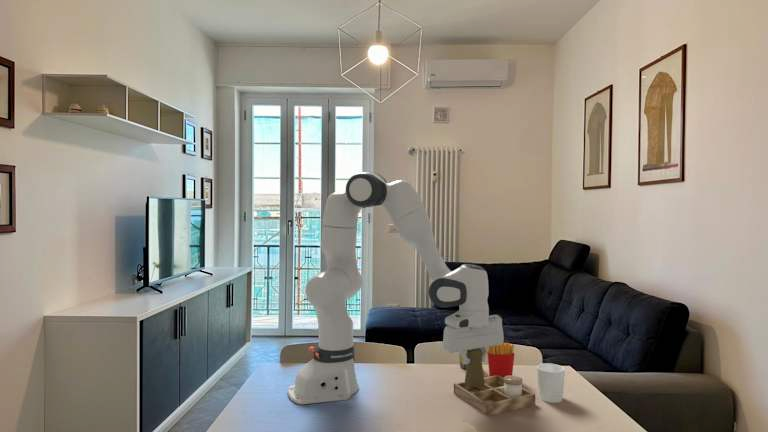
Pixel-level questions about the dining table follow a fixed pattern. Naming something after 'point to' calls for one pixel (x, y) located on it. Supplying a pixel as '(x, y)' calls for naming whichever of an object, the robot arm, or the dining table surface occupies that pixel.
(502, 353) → the french fries
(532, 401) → the oak caddy
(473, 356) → the olive pepper mill
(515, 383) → the cream ceramic jar
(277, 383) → the dining table surface
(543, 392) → the white cup
